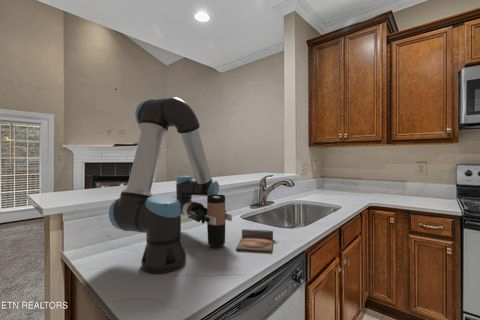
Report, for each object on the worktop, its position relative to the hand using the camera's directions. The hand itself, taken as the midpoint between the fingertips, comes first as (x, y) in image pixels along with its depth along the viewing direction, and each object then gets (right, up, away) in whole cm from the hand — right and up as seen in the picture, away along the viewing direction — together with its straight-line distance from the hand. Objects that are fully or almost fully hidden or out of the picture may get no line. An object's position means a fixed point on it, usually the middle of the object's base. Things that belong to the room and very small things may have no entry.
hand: (223, 219), depth 96 cm
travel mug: (-3, -11, +4) cm, 12 cm away
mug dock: (+13, -12, +5) cm, 19 cm away
